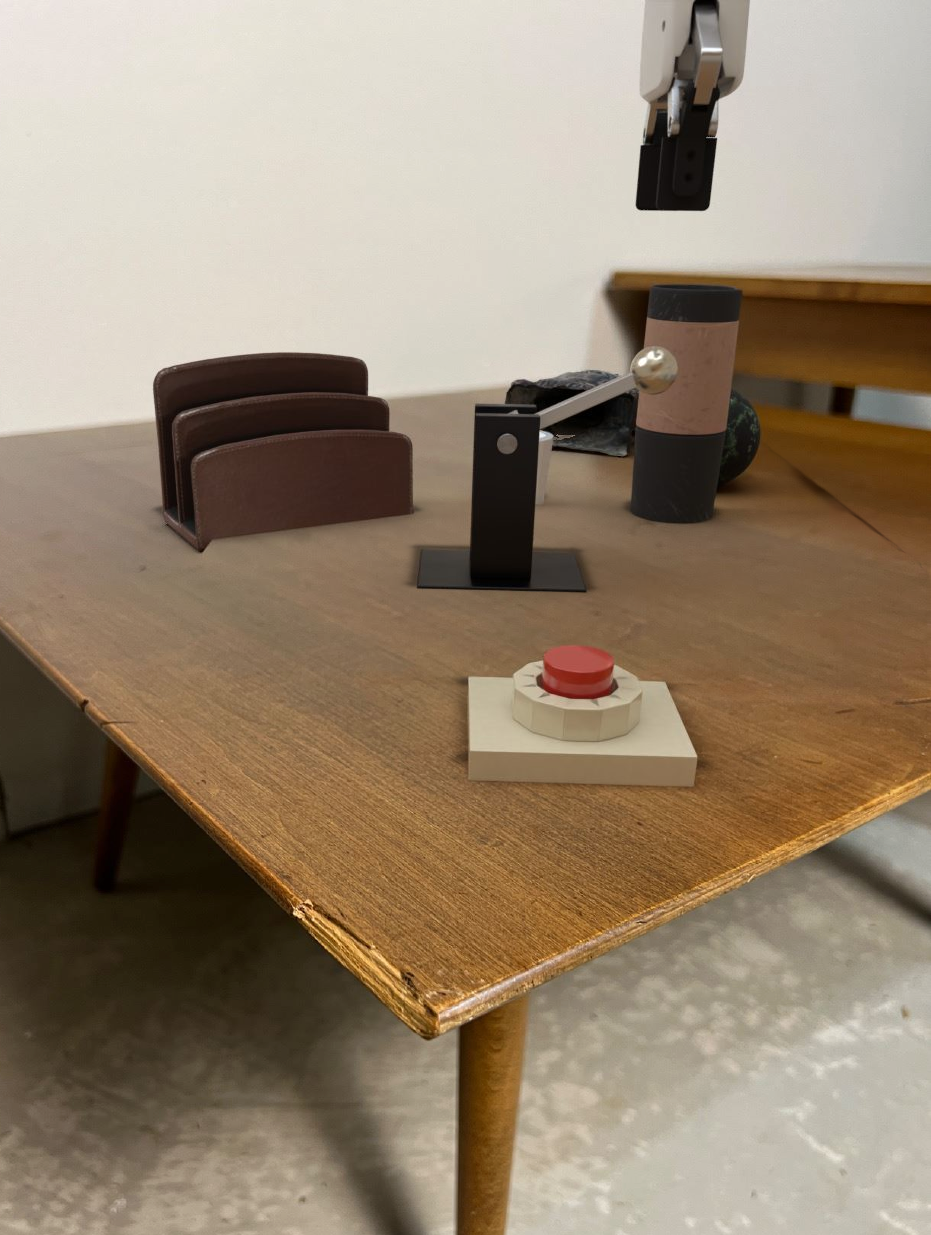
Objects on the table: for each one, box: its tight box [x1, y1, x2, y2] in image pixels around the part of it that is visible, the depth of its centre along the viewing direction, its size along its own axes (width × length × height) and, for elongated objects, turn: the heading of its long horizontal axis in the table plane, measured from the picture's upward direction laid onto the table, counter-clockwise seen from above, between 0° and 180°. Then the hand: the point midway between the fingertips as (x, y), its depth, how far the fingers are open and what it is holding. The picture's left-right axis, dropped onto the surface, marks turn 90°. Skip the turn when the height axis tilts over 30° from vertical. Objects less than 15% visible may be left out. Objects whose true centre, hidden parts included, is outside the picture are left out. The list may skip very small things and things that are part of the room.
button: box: [541, 644, 615, 699], centre depth 55 cm, size 4×4×2 cm
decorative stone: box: [717, 388, 762, 487], centre depth 108 cm, size 10×10×10 cm
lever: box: [508, 346, 678, 430], centre depth 75 cm, size 14×3×3 cm, turn 88°
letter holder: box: [152, 351, 415, 552], centre depth 91 cm, size 10×20×14 cm, turn 118°
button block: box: [466, 659, 699, 788], centre depth 56 cm, size 11×9×4 cm
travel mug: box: [630, 283, 744, 525], centre depth 92 cm, size 8×8×20 cm
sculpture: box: [504, 369, 639, 457], centre depth 135 cm, size 8×16×30 cm
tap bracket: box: [416, 403, 587, 594], centre depth 78 cm, size 12×9×13 cm
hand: (670, 208), depth 69 cm, fingers open, 7 cm apart
